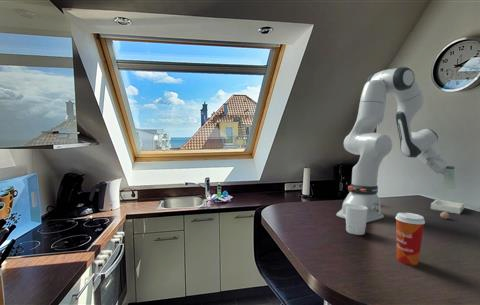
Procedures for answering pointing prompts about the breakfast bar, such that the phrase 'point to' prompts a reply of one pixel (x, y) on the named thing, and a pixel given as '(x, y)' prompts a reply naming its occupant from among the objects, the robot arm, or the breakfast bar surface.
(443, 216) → the ball
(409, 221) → the paper cup
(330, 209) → the breakfast bar surface
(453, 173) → the shaker
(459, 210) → the dish
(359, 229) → the white cup
